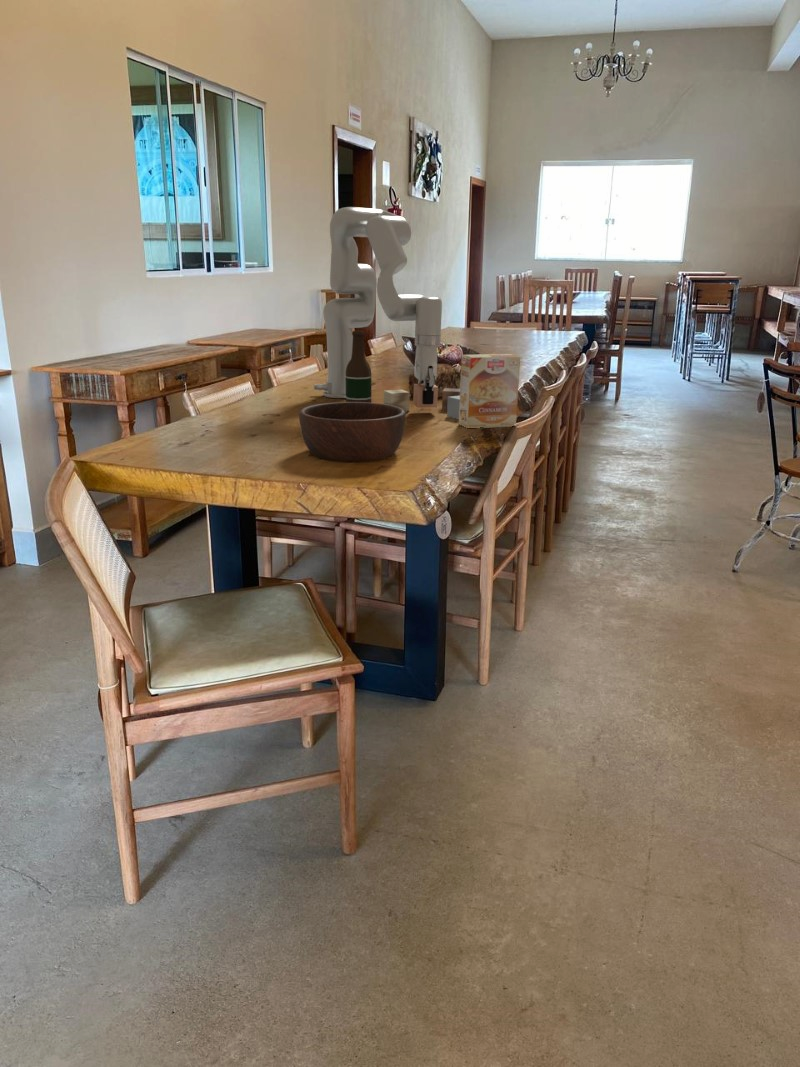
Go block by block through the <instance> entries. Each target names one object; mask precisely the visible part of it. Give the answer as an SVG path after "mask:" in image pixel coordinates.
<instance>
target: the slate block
mask: <svg viewBox="0 0 800 1067" xmlns="http://www.w3.org/2000/svg"><path fill="white" fill-rule="evenodd" d="M459 405H460V396H451V397H448V401H447V411H446V417H447V416H448V417H447V418H450V417H452V418H451V419H454V418H456V419H455V420H458V419H459Z"/></svg>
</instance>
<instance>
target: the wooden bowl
mask: <svg viewBox="0 0 800 1067" xmlns="http://www.w3.org/2000/svg"><path fill="white" fill-rule="evenodd" d="M406 416H407V412H405V411H404V410H403V409H402V408H399V407H396V406H392V405H387V404H384V403H378V402H371V403H369V402H346V401H340V402H339V401H336V402H326V403H325V402H324V403H316V404H311V405H308V406H304V407H303V408H300V410H299V412H298V417H299V424H300V430H301V434H302V439H303V442H304V444H305V446H306V448H307V450H308V451H309V452H310V454H312V456H314V457H316V458H318V459H321V460H326V461H330V462H331V461H332V462H340V463H341V462H344V463H360V462H363V463H365V462H374V461H379V460H380V461H381V460H385V459H388V458H389V457H392V456H393V455H394V454H395V453H396V451H397V450H398V448H399V446H400V444H401V442H402V439H403V435H404V430H405V424H406V419H407V418H406Z"/></svg>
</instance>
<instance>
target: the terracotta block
mask: <svg viewBox="0 0 800 1067" xmlns="http://www.w3.org/2000/svg"><path fill="white" fill-rule="evenodd" d="M426 386H427V384H426ZM423 391H424V384H414V396H412V397H413V402H412V403H413V405H414V406H415V407H416V408H438V399H439V398H438V387H437V386H436V385H434V398H433V404H423V403H422V400H423Z"/></svg>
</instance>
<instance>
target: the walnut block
mask: <svg viewBox="0 0 800 1067" xmlns="http://www.w3.org/2000/svg"><path fill="white" fill-rule="evenodd" d="M451 396H460V388H459V389H452V388H444V390H443V392H442V397H441V398H442V399H441V401H442V402H441V411H446V410H447V401H448V397H451Z"/></svg>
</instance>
